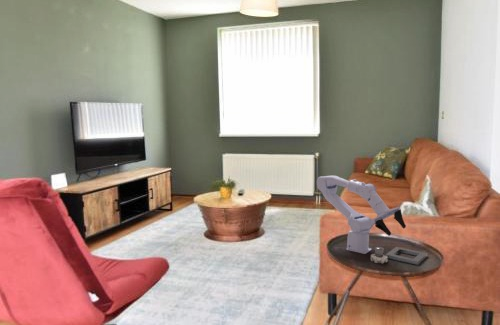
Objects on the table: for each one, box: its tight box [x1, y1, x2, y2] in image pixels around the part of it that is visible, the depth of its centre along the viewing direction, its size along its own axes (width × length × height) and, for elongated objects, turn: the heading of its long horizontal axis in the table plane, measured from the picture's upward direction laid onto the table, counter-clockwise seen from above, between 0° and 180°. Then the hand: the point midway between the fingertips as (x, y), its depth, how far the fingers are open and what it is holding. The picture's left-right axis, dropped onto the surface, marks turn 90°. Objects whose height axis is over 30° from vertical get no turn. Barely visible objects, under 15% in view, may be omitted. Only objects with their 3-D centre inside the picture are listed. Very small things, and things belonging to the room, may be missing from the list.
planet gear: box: [370, 246, 389, 264], centre depth 179 cm, size 7×7×6 cm
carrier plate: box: [384, 246, 428, 266], centre depth 184 cm, size 14×14×2 cm
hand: (397, 231), depth 176 cm, fingers open, 7 cm apart
